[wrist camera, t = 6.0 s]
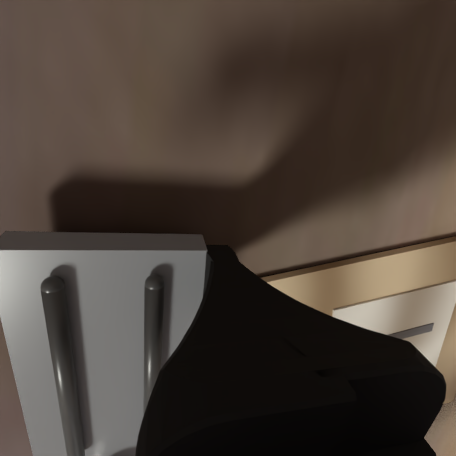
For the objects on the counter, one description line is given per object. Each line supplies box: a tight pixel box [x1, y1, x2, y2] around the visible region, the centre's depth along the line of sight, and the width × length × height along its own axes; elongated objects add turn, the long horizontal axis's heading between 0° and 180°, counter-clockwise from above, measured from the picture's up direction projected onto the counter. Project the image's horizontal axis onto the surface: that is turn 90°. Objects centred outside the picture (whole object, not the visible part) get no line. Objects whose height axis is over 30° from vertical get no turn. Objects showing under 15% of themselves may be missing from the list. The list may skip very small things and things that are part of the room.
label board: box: [261, 236, 456, 404], centre depth 16 cm, size 23×14×1 cm, turn 95°
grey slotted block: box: [0, 231, 207, 456], centre depth 11 cm, size 12×6×2 cm, turn 173°
